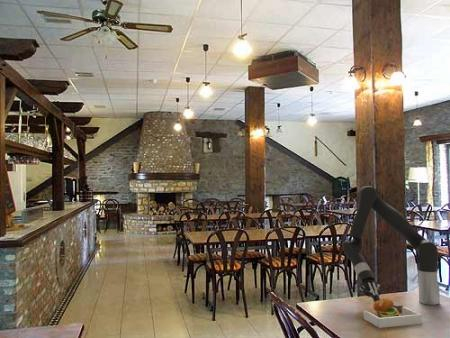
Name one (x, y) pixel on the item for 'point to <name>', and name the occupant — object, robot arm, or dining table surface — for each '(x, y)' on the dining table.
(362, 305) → the dining table surface
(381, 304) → the cheeseburger
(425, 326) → the dining table surface
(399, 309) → the cardboard carton
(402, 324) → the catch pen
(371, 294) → the robot arm
